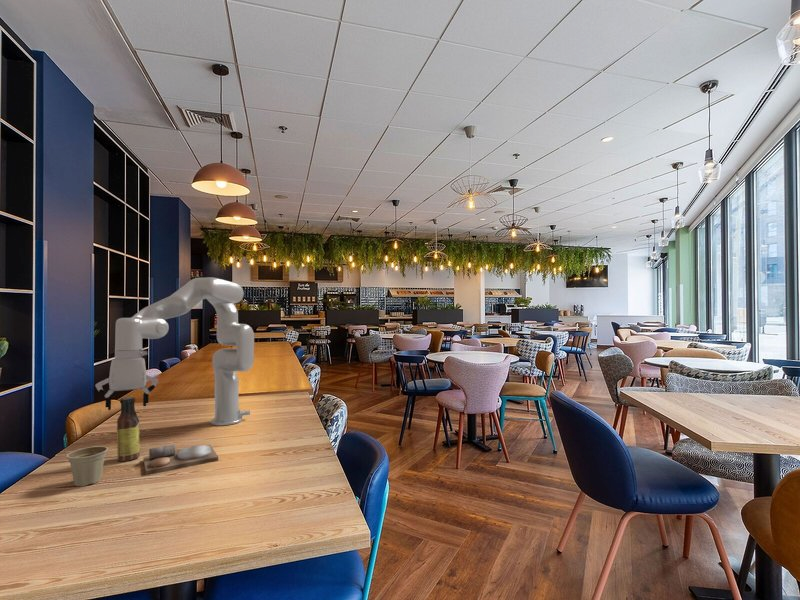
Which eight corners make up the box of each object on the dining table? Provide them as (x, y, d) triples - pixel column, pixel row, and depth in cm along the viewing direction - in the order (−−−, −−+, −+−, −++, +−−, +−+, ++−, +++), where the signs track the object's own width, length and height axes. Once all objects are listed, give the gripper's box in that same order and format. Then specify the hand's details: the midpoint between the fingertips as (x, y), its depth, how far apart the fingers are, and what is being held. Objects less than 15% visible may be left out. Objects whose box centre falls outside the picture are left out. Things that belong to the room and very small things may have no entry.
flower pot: (62, 492, 111) (62, 460, 111) (70, 479, 119) (71, 449, 119) (104, 485, 115) (104, 454, 115) (110, 473, 123) (110, 444, 123)
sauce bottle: (144, 456, 136) (144, 397, 137) (124, 463, 131) (125, 400, 131) (131, 453, 139) (132, 395, 140) (112, 460, 134) (112, 399, 134)
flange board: (210, 448, 144) (210, 435, 145) (218, 460, 133) (218, 446, 133) (143, 460, 133) (143, 446, 133) (145, 475, 122) (145, 460, 122)
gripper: (158, 352, 143) (156, 402, 143) (96, 355, 134) (95, 408, 133) (159, 354, 137) (158, 406, 137) (95, 357, 127) (94, 413, 127)
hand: (127, 407), depth 135 cm, fingers open, 9 cm apart
